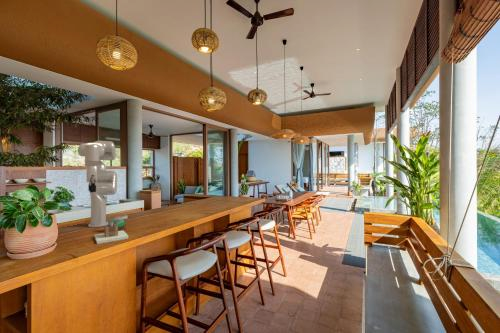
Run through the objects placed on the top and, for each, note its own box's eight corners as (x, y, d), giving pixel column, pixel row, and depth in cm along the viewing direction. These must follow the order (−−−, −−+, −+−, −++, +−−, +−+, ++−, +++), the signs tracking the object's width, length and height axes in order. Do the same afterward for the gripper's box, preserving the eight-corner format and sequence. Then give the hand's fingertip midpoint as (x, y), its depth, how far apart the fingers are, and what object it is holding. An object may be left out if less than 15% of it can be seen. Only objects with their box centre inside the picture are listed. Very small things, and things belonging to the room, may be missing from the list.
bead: (104, 235, 143) (104, 225, 143) (116, 233, 147) (116, 223, 147) (105, 237, 138) (105, 227, 138) (118, 235, 142) (118, 225, 142)
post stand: (94, 237, 143) (94, 221, 143) (123, 232, 153) (123, 218, 153) (97, 243, 131) (97, 227, 131) (128, 238, 141) (128, 222, 141)
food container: (104, 232, 153) (104, 217, 153) (108, 230, 159) (108, 215, 159) (124, 231, 155) (124, 216, 155) (127, 229, 161) (127, 215, 161)
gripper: (84, 164, 150) (84, 190, 150) (85, 164, 136) (85, 193, 136) (97, 164, 154) (97, 189, 154) (100, 164, 141) (100, 192, 141)
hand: (92, 191), depth 145 cm, fingers open, 9 cm apart
